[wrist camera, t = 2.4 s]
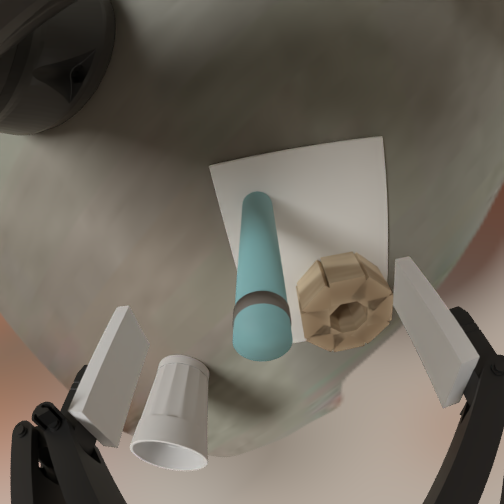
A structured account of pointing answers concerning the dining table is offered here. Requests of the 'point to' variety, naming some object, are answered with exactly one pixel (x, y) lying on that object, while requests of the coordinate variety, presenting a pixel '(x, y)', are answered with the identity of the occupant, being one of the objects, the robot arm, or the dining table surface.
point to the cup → (175, 417)
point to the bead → (343, 302)
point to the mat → (312, 205)
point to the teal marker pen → (260, 286)
